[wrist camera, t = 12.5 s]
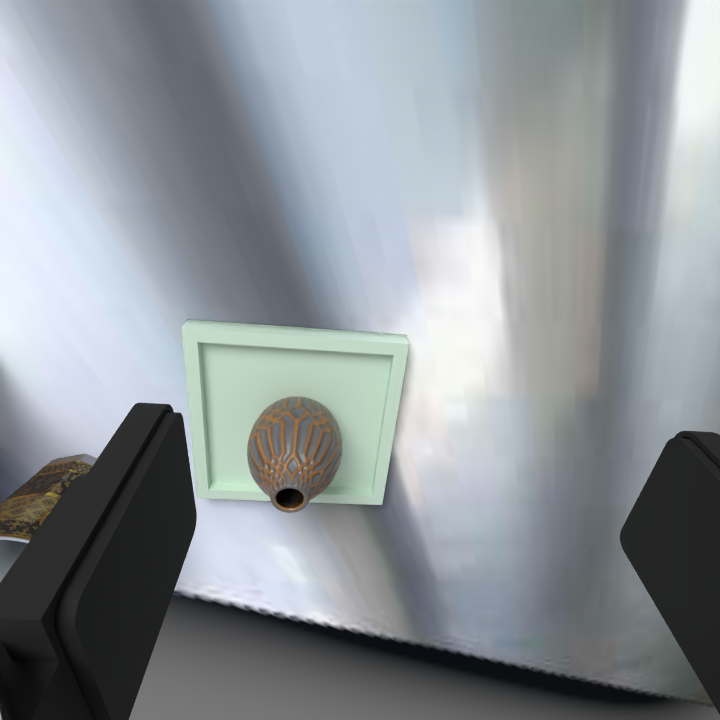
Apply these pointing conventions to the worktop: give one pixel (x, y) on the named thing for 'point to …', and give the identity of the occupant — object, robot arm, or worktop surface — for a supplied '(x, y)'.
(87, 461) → the ceramic cup
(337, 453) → the vase
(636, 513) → the robot arm
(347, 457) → the tray
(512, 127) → the worktop surface
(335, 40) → the worktop surface
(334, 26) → the worktop surface
